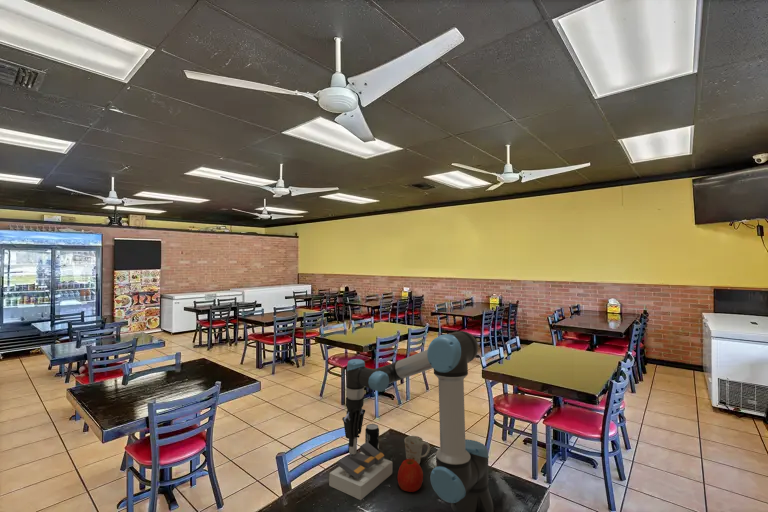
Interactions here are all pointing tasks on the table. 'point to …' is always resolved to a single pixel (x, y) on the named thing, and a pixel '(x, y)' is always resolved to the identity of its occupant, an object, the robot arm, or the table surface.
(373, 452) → the rocker right
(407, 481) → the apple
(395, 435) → the table surface
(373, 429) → the beverage can
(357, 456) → the rocker mid
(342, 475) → the switch unit
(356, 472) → the rocker left
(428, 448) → the mug
